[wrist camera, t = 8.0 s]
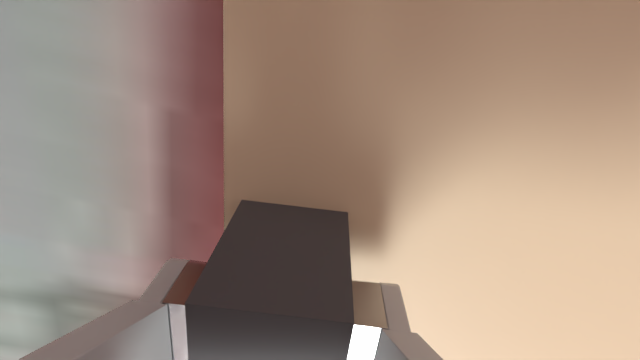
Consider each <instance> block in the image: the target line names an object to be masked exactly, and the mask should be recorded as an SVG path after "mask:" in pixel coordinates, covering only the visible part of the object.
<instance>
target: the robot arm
mask: <svg viewBox="0 0 640 360" xmlns="http://www.w3.org/2000/svg"><path fill="white" fill-rule="evenodd" d="M206 264H207V262H201V261H193V260H184V259H177V258H171V259H169V260H168V261H167V262H166V263H165V264H164V266H163V267H162V268H161V270H160V271H159V273H158V274H157V275H156V277H155V278H154V280H153V281H152V282H151V284H150V285H149V286H148V288H147V289H146V291H145V292H144V293H143V295H142V296H141V297H140V299H139V300H138V301H136V300H131V301H130V302H128V303H126V304H124V305H122V306H120V307H118V308H116V309H114V310H112V311H110V312H109V313H107V314H105V315H103V316H101V317H99V318H97V319H95V320H93V321H91V322H89V323H87V324H86V325H84V326H82V327H80V328H78V329H76V330H74V331H72V332H70V333H68V334H66V335H64V336H63V337H61V338H59V339H57V340H55V341H53V342H51V343H49V344H47V345H45V346H43V347H41V348H40V349H38V350H36V351H34V352H32V353H30V354H28V355H26V356H24V357H22V358H20V359H19V360H188V347H187V332H186V316H185V302H186V300H187V298H188V297H189V295H190V293H191V291H192V289H193V288H194V286H195V284H196V282H197V280H198V278H199V277H200V275H201V273H202V271H203V269H204V267H205V266H206ZM352 291H353V308H354V328H353V333H352V338H351V343H350V348H349V353H348V358H347V360H443V359H442V358H441V357H440V356H439V355H438V354H437V353H436V352H435V350H434V349H433V348H432V347H431V346H430V345H429V344H428V343H427V342H426V341H425V340H424V339H423V338H422V337H421V336H420V335H419V334H418V333H413V332H411V329H410V325H409V321H408V317H407V313H406V309H405V305H404V301H403V297H402V293H401V289H400V286H399V285H398V284H393V283H382V282H379V283H377V282H368V281H359V280H352Z"/></svg>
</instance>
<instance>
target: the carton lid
mask: <svg viewBox="0 0 640 360" xmlns="http://www.w3.org/2000/svg"><path fill="white" fill-rule="evenodd" d="M223 58H224V233H223V235H222V237H221V238H220V240H219V242H218V244H217V246H216V247H215V249H214V251H213V253H212V255H211V257H210V258H209V260H208V262H207V264H206V266H205V267H204V269H203V271H202V273H201V275H200V277H199V278H198V280H197V282H196V284H195V286H194V288H193V289H192V291H191V293H190V295H189V297H188V298H187V300H186V302H185V316H186V332H187V347H188V360H347V358H348V353H349V348H350V343H351V338H352V333H353V328H354V308H353V291H352V280H359V281H368V282H377V283H379V282H382V283H393V284H398V285H399V286H400V289H401V293H402V297H403V301H404V305H405V309H406V313H407V317H408V321H409V325H410V329H411V332H413V333H418V334H419V335H420V336H421V337H422V338H423V339H424V340H425V341H426V342H427V343H428V344H429V345H430V346H431V347H432V348H433V349H434V350H435V352H436V353H437V354H438V355H439V356H440V357H441V358H442V359H443V360H640V0H223Z"/></svg>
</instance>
